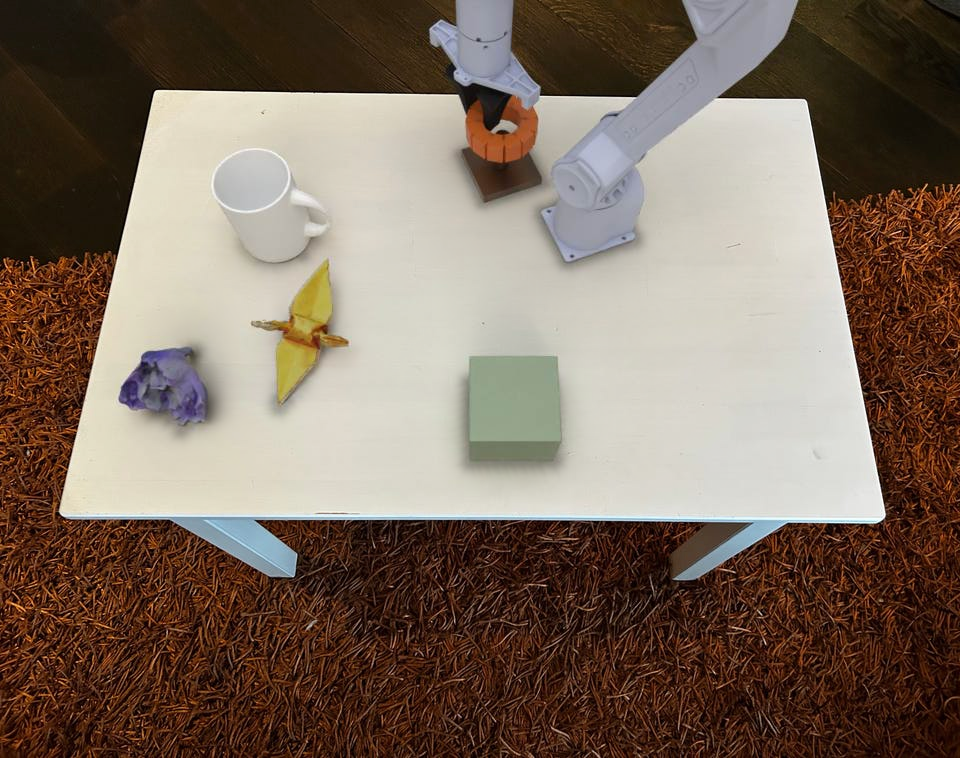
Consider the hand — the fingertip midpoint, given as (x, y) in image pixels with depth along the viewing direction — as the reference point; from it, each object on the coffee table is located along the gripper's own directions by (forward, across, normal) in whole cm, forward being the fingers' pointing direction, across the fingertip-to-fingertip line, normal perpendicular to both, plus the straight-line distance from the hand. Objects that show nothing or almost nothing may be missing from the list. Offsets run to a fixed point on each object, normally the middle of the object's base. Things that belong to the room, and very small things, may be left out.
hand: (482, 119), depth 79 cm
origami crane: (+7, +2, -33) cm, 34 cm away
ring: (0, +3, 0) cm, 3 cm away
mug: (+7, -9, -25) cm, 28 cm away
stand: (+7, +3, 0) cm, 7 cm away
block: (+7, +26, -25) cm, 37 cm away
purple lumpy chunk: (+7, -3, -47) cm, 48 cm away
